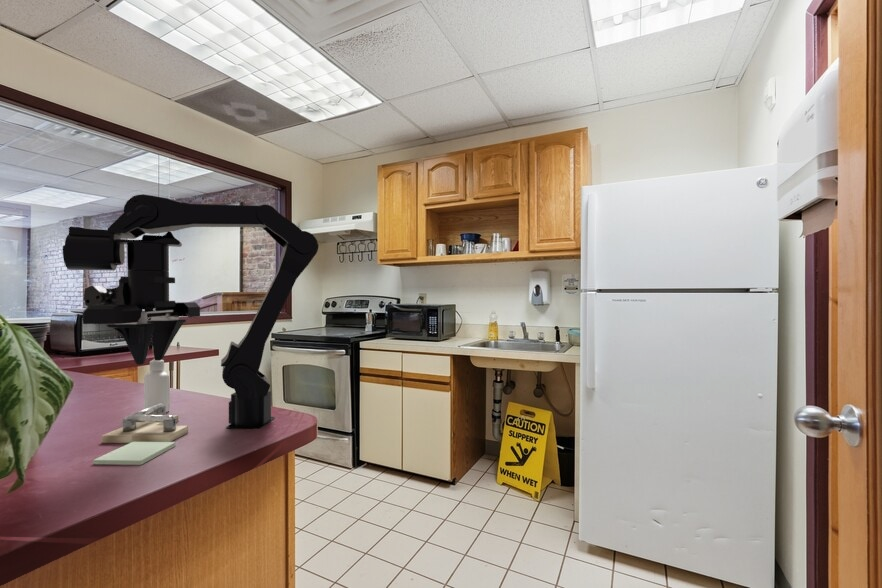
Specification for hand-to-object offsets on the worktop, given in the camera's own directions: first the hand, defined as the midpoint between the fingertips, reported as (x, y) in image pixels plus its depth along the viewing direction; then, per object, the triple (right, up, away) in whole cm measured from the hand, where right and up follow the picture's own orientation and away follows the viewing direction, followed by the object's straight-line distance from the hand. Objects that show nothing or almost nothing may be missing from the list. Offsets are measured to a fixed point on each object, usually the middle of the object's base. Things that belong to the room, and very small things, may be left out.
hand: (149, 362), depth 67 cm
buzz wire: (0, -13, +3) cm, 13 cm away
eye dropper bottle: (-9, -13, +14) cm, 22 cm away
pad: (+3, -13, -7) cm, 15 cm away
